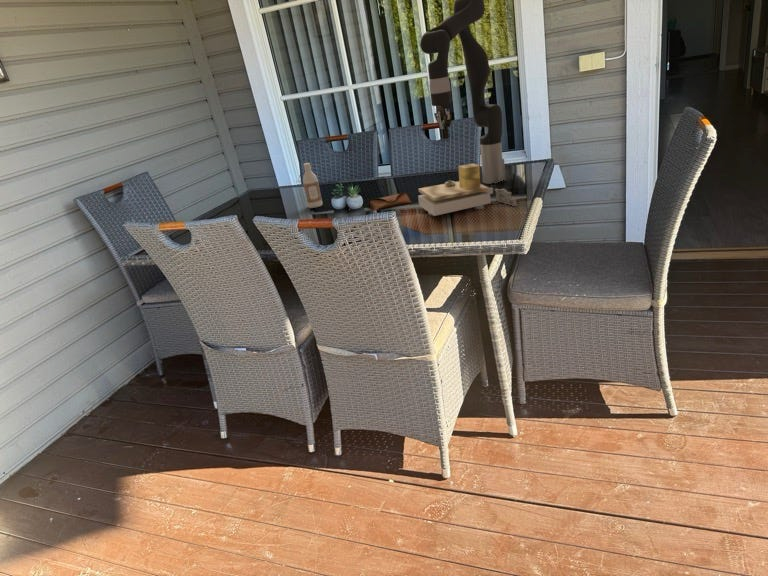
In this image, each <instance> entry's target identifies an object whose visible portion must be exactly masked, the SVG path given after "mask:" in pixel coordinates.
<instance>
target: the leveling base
mask: <svg viewBox="0 0 768 576" xmlns="http://www.w3.org/2000/svg"><path fill="white" fill-rule="evenodd" d="M492 194H494V188H493V187H489V188H488V189H487V191H484V192H478V193H473V194H468V195H463V196H457V197H452V198H447V199H442V200H436V201H433V200H431V199H430V198H428V197H427V196H425V195H423V194H420V195H418V196H417V197H418V204H419V205H418V206H420V207H421V208H422V209H424V210H425V211H427V213H428V215H427V216H433V217H436V216H441V215H444V214H448V213H449V214H450V213H453V212H457V211H461V210H466V209H472V208H474V210H476V209H481V210H484V209H485V205H488V204H492V201H491V200H492V199H491V198H492V197H491V195H492ZM483 208H484V209H483Z"/></svg>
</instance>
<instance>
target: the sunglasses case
mask: <svg viewBox="0 0 768 576" xmlns="http://www.w3.org/2000/svg"><path fill="white" fill-rule="evenodd" d="M407 203H409V204H412V203H413V202H412V201H411V199H410V197H409V195H408V194H407V192H405V191H404V192H403V191H402V192H400V193H396V194H393V195H387V196H383V197H375V198H372V199H369V201H368V206H369V208H370V209H371V210H372V211H374V210H376V211H375V212H377V210H378V211H381V209H382V210H385V209H389V207H390V208H394V206H395V207H398V205H399V206H403V204H404V205H407Z"/></svg>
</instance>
